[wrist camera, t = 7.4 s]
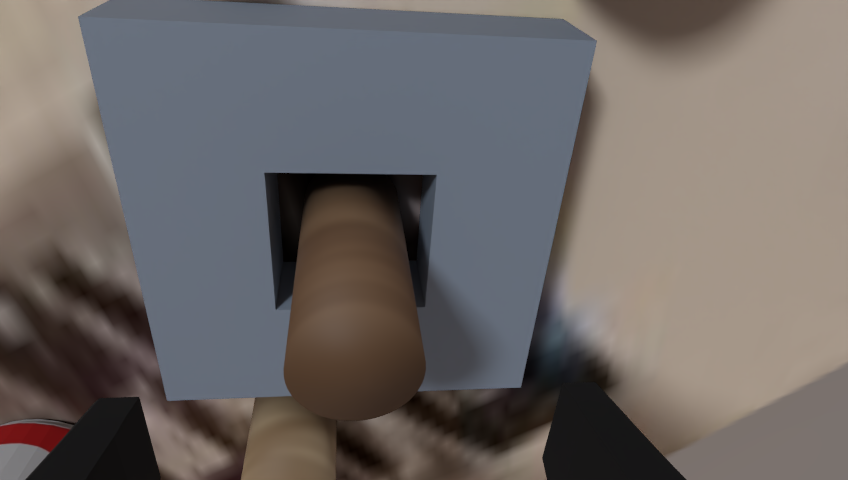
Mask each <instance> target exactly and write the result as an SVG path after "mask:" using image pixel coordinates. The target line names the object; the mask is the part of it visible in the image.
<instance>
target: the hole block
mask: <svg viewBox="0 0 848 480" xmlns="http://www.w3.org/2000/svg"><path fill="white" fill-rule="evenodd" d="M78 18H79V23H80V27H81V31H82V36H83V40H84V44H85V49H86V53H87V57H88V61H89V66H90V70H91V74H92V79H93V83H94V87H95V92H96V96H97V100H98V105H99V109H100V113H101V117H102V122H103V126H104V130H105V135H106V139H107V143H108V148H109V152H110V156H111V161H112V165H113V169H114V173H115V178H116V182H117V186H118V191H119V195H120V199H121V204H122V208H123V212H124V217H125V221H126V225H127V229H128V234H129V238H130V242H131V247H132V251H133V255H134V260H135V264H136V268H137V273H138V277H139V281H140V285H141V290H142V294H143V298H144V303H145V307H146V311H147V316H148V320H149V324H150V329H151V333H152V337H153V341H154V346H155V350H156V354H157V359H158V363H159V367H160V372H161V376H162V380H163V385H164V389H165V393H166V397H167V401H174V400H200V399H226V398H253V397H279V396H292V395H291V394H290V392H289V391H288V389H287V387H286V384H285V380H284V370H283V369H284V361H285V353H286V344H287V336H288V328H289V320H290V312H291V304H292V295H293V287H294V279H295V271H296V263H297V262H283V249H282V235H281V221H280V207H279V192H278V178H277V173H336V174H412V175H423V179H422V193H421V206H420V219H419V233H418V246H417V259H416V261H409V266H410V272H411V278H412V283H413V289H414V295H415V301H416V307H417V313H418V319H419V325H420V331H421V337H422V343H423V348H424V354H425V360H426V372H425V377H424V380H423V383H422V384H421V386H420V388H419V390H418V391H437V390H464V389H490V388H516V387H521V384H522V379H523V375H524V370H525V366H526V361H527V357H528V352H529V348H530V343H531V338H532V334H533V329H534V325H535V320H536V316H537V311H538V307H539V302H540V297H541V293H542V288H543V284H544V279H545V275H546V270H547V266H548V261H549V256H550V252H551V247H552V243H553V238H554V234H555V229H556V225H557V220H558V215H559V211H560V206H561V202H562V197H563V193H564V188H565V184H566V179H567V174H568V170H569V165H570V161H571V156H572V152H573V147H574V143H575V138H576V133H577V129H578V124H579V120H580V115H581V111H582V106H583V102H584V97H585V92H586V88H587V83H588V79H589V74H590V70H591V65H592V61H593V56H594V51H595V47H596V42H597V41H596V40H595V39H593V38H592V37H590V36H589V35H587V34H585V33H584V32H582V31H581V30H579V29H578V28H576V27H575V26H573V25H571V24H570V23H568V22H567V21H565V20H564V19H550V18H531V17H512V16H492V15H473V14H453V13H434V12H415V11H395V10H376V9H357V8H337V7H318V6H299V5H279V4H260V3H241V2H221V1H202V0H109V1H107V2H105V3H103V4H101V5H100V6H98V7H96V8H94V9H92V10H90V11H88V12H86V13H84V14H82V15H80V16H78Z"/></svg>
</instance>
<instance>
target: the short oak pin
mask: <svg viewBox="0 0 848 480" xmlns="http://www.w3.org/2000/svg"><path fill="white" fill-rule="evenodd" d="M336 429H337V420H335V419H330V418H326V417H323V416H320V415H317V414H315V413H313V412H311V411H309V410H307V409H306V408H304V407H303V406H301V405H300V404H299V403H298V402H297V401H296V400H295V399H294V398H293V397H292V396H279V397H255V402H254V408H253V414H252V419H251V425H250V431H249V437H248V442H247V448H246V454H245V460H244V465H243V471H242V477H241V480H336Z"/></svg>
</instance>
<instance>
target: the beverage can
mask: <svg viewBox="0 0 848 480" xmlns="http://www.w3.org/2000/svg"><path fill="white" fill-rule="evenodd" d="M73 426H74V425H71V424H67V423H63V422H59V421H52V420H44V419H25V420H19V421H13V422H9V423H6V424H3V425H0V480H25V479H26V478H27V477H28V476H29V475H30V474H31V473H32V472H33V471H34V469H35V468H36V467H37V466H38V465H39V464H40V463H41V462H42V461H43V460H44V458H45V457H46V456H47V455H48V454H49V453H50V452H51V451H52V450H53V448H54V447H55V446H56V445H57V444H58V443H59V442H60V441H61V440H62V438H63V437H64V436H65V435H66V434H67V433H68V432H69V431H70V429H71V428H72V427H73Z"/></svg>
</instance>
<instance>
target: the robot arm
mask: <svg viewBox="0 0 848 480" xmlns="http://www.w3.org/2000/svg"><path fill="white" fill-rule="evenodd" d="M542 458H543V463H544V467H545V472H546V477H547V480H686V479H685V478H684V477H683V476H682V475H681V474H680V473H679V472H678V471H677V470H676V469H675V468H674V467H673V465H672V464H670V462H669V461H668V460H667V459H666V458H665V457H664V456H663V455H662V454H661V453H660V452H659V451H658V450H657V449H656V448H655V447H654V445H653V444H652V443H651V442H650V441H649V440H648V439H647V438H646V437H645V436H644V435H643V434H642V432H641V431H640V430H639V429H638V428H637V427H636V426H635V425H634V424H633V423H632V422H631V421H630V419H629V418H628V417H627V416H626V415H625V414H624V413H623V412H622V411H621V410H620V408H619V407H618V406H617V405H616V404H615V403H614V402H613V401H612V400H611V399H610V398H609V397H608V395H607V394H606V393H605V392H604V391H603V390H602V389H601V388H600V387H599V386H598V385H597V384H596V382H583V383H563V384H562V388H561V391H560V395H559V399H558V402H557V406H556V410H555V413H554V417H553V421H552V424H551V428H550V432H549V435H548V439H547V443H546V446H545V450H544V454H543V457H542ZM25 480H160V473H159V469H158V466H157V462H156V458H155V454H154V451H153V447H152V443H151V439H150V436H149V432H148V428H147V425H146V421H145V417H144V413H143V410H142V406H141V402H140V399H139V397H123V398H99V399H98V400H97V401H96V402H95V403H94V404H93V405H92V406H91V407H90V408H89V409H88V410H87V412H86V413H85V414H84V415H83V416H82V417H81V418H80V419H79V420H78V422H77V423H76V424H75V425H74V426H73V427H72V428H71V429H70V431H69V432H68V433H67V434H66V435H65V436H64V437H63V438H62V440H61V441H60V442H59V443H58V444H57V445H56V446H55V447H54V448H53V450H52V451H51V452H50V453H49V454H48V455H47V456H46V457H45V458H44V460H43V461H42V462H41V463H40V464H39V465H38V466H37V467H36V468H35V469H34V471H33V472H32V473H31V474H30V475H29V476H28V477H27V478H26V479H25Z"/></svg>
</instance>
